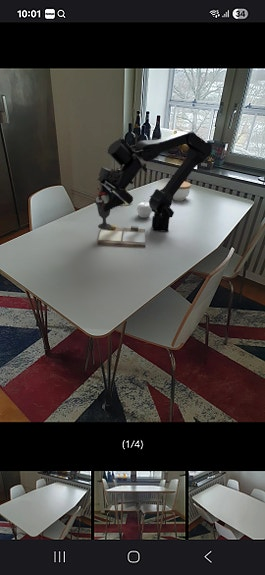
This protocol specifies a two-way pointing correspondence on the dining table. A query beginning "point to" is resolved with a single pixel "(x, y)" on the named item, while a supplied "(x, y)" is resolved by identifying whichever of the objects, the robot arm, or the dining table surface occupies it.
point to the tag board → (122, 236)
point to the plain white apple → (144, 209)
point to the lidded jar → (182, 191)
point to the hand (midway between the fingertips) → (100, 207)
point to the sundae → (101, 203)
